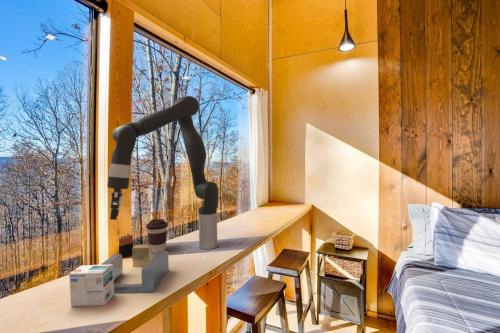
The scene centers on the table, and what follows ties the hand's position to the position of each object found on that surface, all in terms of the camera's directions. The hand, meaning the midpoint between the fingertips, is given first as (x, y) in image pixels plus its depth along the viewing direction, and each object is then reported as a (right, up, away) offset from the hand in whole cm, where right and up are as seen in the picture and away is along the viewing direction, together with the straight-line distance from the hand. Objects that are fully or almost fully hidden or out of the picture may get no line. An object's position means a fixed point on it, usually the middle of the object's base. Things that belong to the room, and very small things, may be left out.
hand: (114, 217), depth 103 cm
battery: (-6, -22, +22) cm, 32 cm away
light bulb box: (+2, -24, -17) cm, 29 cm away
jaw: (0, -23, -4) cm, 23 cm away
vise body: (+7, -23, -4) cm, 24 cm away
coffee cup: (+8, -22, +27) cm, 35 cm away
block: (+7, -22, +11) cm, 26 cm away
